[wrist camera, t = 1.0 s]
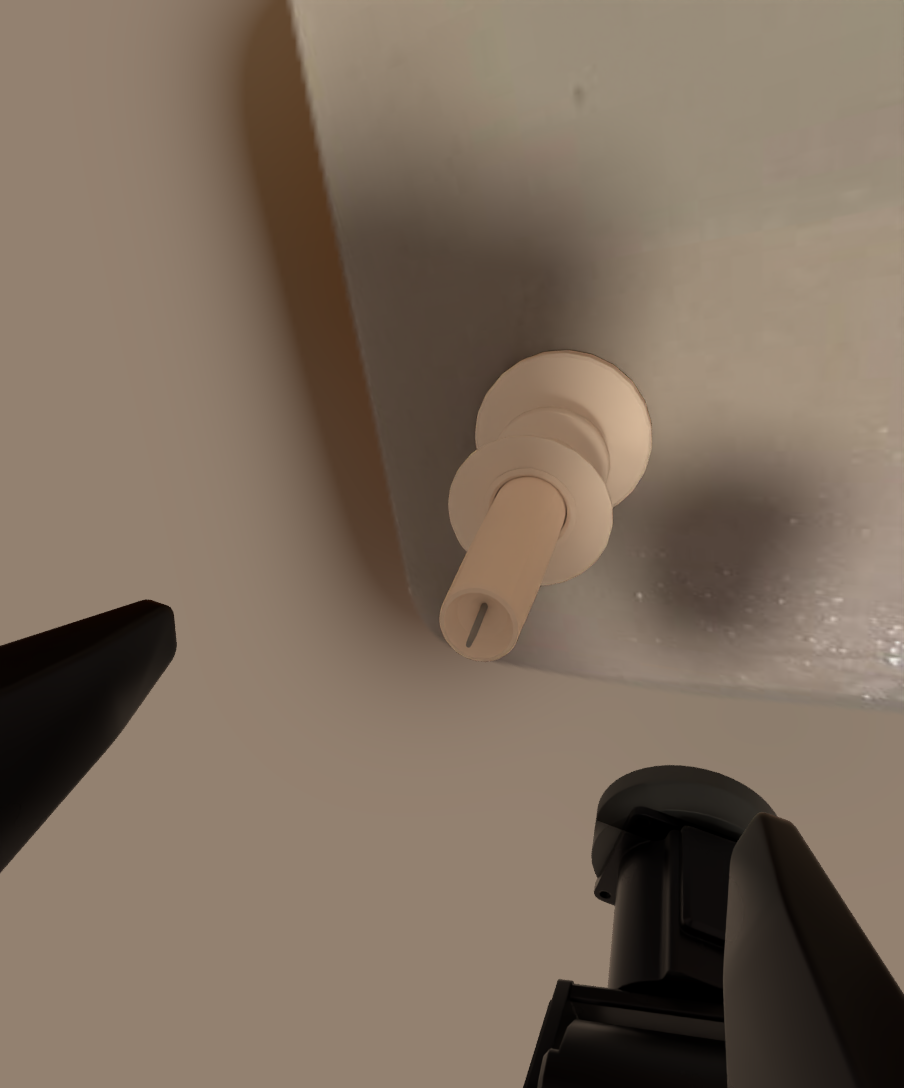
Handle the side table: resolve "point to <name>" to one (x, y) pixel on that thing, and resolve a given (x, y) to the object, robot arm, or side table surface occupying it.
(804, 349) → the side table surface
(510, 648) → the candle
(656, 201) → the side table surface
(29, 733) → the robot arm
